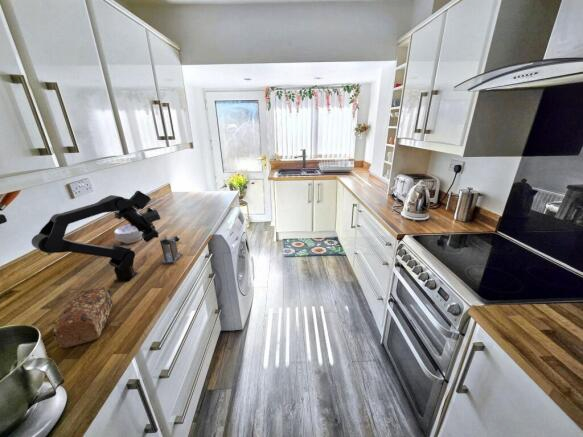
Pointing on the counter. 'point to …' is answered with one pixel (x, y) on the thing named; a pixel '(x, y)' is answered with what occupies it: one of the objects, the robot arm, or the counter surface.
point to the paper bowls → (128, 234)
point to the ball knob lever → (168, 239)
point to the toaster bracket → (169, 257)
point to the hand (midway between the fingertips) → (157, 236)
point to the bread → (83, 317)
